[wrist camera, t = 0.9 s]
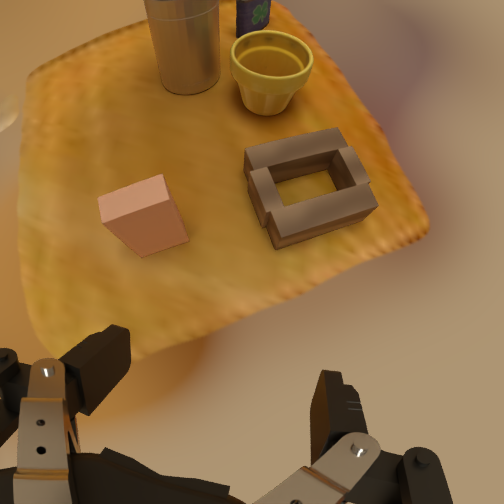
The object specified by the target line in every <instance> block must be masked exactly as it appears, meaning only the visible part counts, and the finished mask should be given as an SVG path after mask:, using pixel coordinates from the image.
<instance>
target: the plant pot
mask: <svg viewBox="0 0 504 504" xmlns="http://www.w3.org/2000/svg"><path fill="white" fill-rule="evenodd" d="M312 65H313V54H312V52H311V50H310V48H309V47H308V46H307V45H306V44H305V43H304V42H303V41H301V40H300V39H298V38H296V37H294V36H292V35H290V34H287V33H283V32H279V31H271V30H261V31H254V32H250V33H247V34H245V35H243V36H241V37H240V38H238V39H237V40H236V41H235V42H234V44H233V45H232V47H231V51H230V69H231V74H232V76H233V78H234V79H235V80H236V81H237V82H238V85H239V89H240V93H241V97H242V101H243V103H244V105H245V107H246V108H247V109H249V110H250V111H251V112H253V113H255V114H258V115H264V116H271V115H276V114H278V113H280V112H282V111H283V110H284V109H285V108H286V106H287V105H288V103H289V101H290V100H291V98H292V97H293V95H294V93H295V92H296V91H297V90H299V89H300V88H301V87H303V86H304V84H305V83H306V82H307V80H308V77H309V75H310V72H311V69H312Z"/></svg>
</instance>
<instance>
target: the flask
mask: <svg viewBox="0 0 504 504" xmlns="http://www.w3.org/2000/svg"><path fill="white" fill-rule="evenodd" d="M236 4H237V5H236V10H237V13H236V14H237V15H236V16H237V17H236V26H237V27H236V38H240V37H241V36H243V35H245V34H247V33H250V32H254V31H261V30H262V29H263V28H264V27H266V25H268V23H269V15H270V6H271V0H236Z"/></svg>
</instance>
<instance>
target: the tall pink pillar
mask: <svg viewBox="0 0 504 504" xmlns="http://www.w3.org/2000/svg"><path fill="white" fill-rule="evenodd" d="M98 203H99V209H100V215H101V221H102V224H103V225H104V226H105V227H106V228H108V229H109V230H110V231H111V232H112V233H113V234H114V235H116V236H117V237H118V238H119V239H120V240H121V241H122V242H124V243H125V244H126V245H127V246H128V247H129V248H131V249H132V250H133V251H134V252H135V253H137V254H138V255H139V256H140V257H141V258H142V257H144V256H147V255H150V254H153V253H156V252H159V251H162V250H165V249H168V248H171V247H174V246H177V245H179V244H182V243H185V242H188V241H189V239H188V236H187V232H186V229H185V226H184V223H183V220H182V218H181V216H180V213H179V211H178V209H177V206H176V204H175V202H174V200H173V197H172V195H171V193H170V190H169V188H168V186H167V183H166V181H165V179H164V176H163V174H160V175H157V176H154V177H151V178H148V179H146V180H143V181H140V182H137V183H134V184H132V185H129V186H126V187H124V188H121V189H118V190H116V191H113V192H111V193H108V194H105V195H103V196H100V197H98Z"/></svg>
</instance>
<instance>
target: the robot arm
mask: <svg viewBox="0 0 504 504" xmlns="http://www.w3.org/2000/svg"><path fill="white" fill-rule="evenodd" d="M144 4H145V9H146V13H147V18H148V23H149V27H150V32H151V36H152V41H153V45H154V49H155V54H156V58H157V62H158V67H159V71H160V75H161V79H162V83H163V85H164V87H165V88H166V89H167V90H169V91H171V92H173V93H176V94H183V95H188V94H195V93H199V92H202V91H205V90H207V89H209V88H210V87H212V86H213V85H214V84H215V83H216V82H217V81H218V79H219V76H220V46H219V0H144ZM130 364H131V349H130V332H129V330H128V329H127V328H123V327H120V326H117V325H113V324H112V325H110V326H109V327H107V328H106V329H105V330H104V331H102V332H97V333H94V334H92V335H89V336H88V337H87V338H85V339H84V340H83V341H82V342H80V343H79V344H77V346H75V347H74V348H72V349H71V350H70V351H68V352H67V353H66V354H65V355H63V356H62V357H61V358H59V359H58V360H57V359H53V358H45V359H40V360H38V361H36V362H34V363H33V365H28V364H24V363H19V361H18V357H17V354H16V352H15V351H13V350H12V349H8V348H0V397H1V399H0V447H1V446H2V445H3V444H4V443H5V442H6V440H8V439H9V437H10V436H11V435H12V434H13V433H14V432H15V431H16V430H17V429H18V447H17V467H11V468H6V469H0V504H246V503H244V502H243V501H241V500H239V499H237V498H235V497H233V496H231V495H229V489H230V486H227V485H222V484H218V483H213V482H209V481H204V480H201V479H196V478H182V477H172V476H164V475H160V474H158V473H156V472H154V471H152V470H151V469H149V468H148V467H146V466H144V465H143V464H141V463H139V462H138V461H136V460H135V459H133V458H130V457H128V456H125V455H123V454H120V453H118V452H115V451H113V450H111V449H108V448H106V447H105V448H104V449H103V451H102V452H101V454H95V453H81V449H80V443H79V437H78V428H77V420H76V416H75V415H76V414H77V413H78V412H81V413H83V414H85V415H87V416H90V414H91V413H92V412H93V411H94V410H95V409H96V408H97V406H98V405H99V404H100V403H101V402H102V401H103V400H104V398H105V397H106V396H107V395H108V394H109V392H111V390H112V389H113V388H114V387H115V386H116V385H117V384H118V382H119V381H120V380H121V379H122V378H123V377H124V376H125V375H126V373H127V372H128V370H129V368H130ZM310 434H311V467H309V468H308V467H306V466H303V467H301V468H300V469H298V470H297V471H296V472H295V473H293V474H292V475H291V476H290V477H288V478H287V479H286V480H284V481H283V482H282V483H280V484H279V485H278V486H276V487H275V488H274V489H273V490H271V491H270V492H268V493H267V494H266V495H264V496H263V497H261V498H260V499H259V500H257V501H256V502H254V503H253V504H346V503H347V502H351V503H355V504H453V501H452V498H451V494H450V491H449V488H448V485H447V481H446V478H445V475H444V472H443V469H442V466H441V463H440V460H439V458H438V456H437V455H436V454H435V453H434V452H432V451H431V450H429V449H427V448H423V447H414V448H411V449H409V450H407V451H406V452H405V454H404V455H403V456H402V455H397V454H393V453H389V452H385V451H383V450H381V448H380V445H379V443H378V441H377V440H376V439H374V438H373V437H372V436H370V435H368V431H367V426H366V422H365V418H364V414H363V411H362V406H361V404H360V398H359V394H358V392H357V391H356V390H355V389H354V388H353V386H352V385H344V384H343V379H342V375H341V372H338V371H329V370H322V371H321V374H320V376H319V380H318V383H317V386H316V389H315V393H314V396H313V399H312V403H311V408H310Z"/></svg>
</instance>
